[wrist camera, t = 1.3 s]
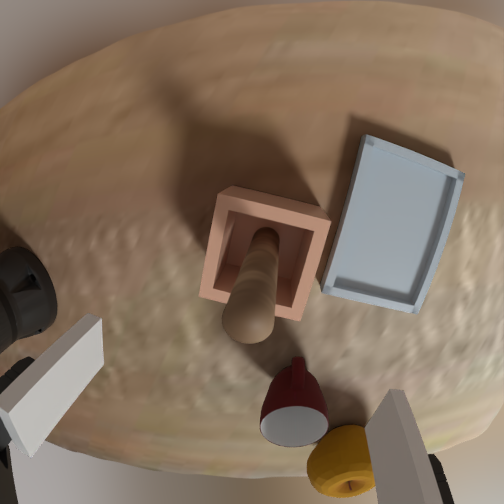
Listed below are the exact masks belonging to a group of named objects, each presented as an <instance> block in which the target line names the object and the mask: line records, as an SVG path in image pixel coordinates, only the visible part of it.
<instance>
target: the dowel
mask: <svg viewBox="0 0 504 504" xmlns="http://www.w3.org/2000/svg"><path fill="white" fill-rule="evenodd" d="M279 244H280V238H279V235H278V233H277V232H276V231H275V230H274V229H272V228H270V227H262V228H260V229H258V230H257V231H256V232H255V233H254V235H253V238H252V240H251V243H250V246H249V248H248V251H247V253H246V256H245V258H244V261H243V263H242V266H241V268H240V271H239V274H238V276H237V279H236V281H235V284H234V286H233V289H232V291H231V294H230V297H229V299H228V302H227V304H226V307H225V309H224V312H223V315H222V324H223V327H224V329H225V331H226V333H227V334H228V335H229V336H230V337H231V338H233V339H234V340H236V341H239V342H242V343H247V344H253V343H258V342H261V341H263V340H264V339H266V338H267V337H268V336H269V335H270V334H271V332H272V330H273V327H274V318H275V305H276V291H277V276H278V261H279Z"/></svg>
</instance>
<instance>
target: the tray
mask: <svg viewBox="0 0 504 504" xmlns="http://www.w3.org/2000/svg"><path fill="white" fill-rule="evenodd" d="M464 177H465V173H463V172H461V171H458V170H456V169H454V168H452V167H450V166H447V165H445V164H443V163H441V162H438V161H436V160H434V159H431V158H429V157H426V156H424V155H422V154H419V153H417V152H414V151H411V150H409V149H406V148H404V147H401V146H398V145H396V144H393V143H390V142H387V141H385V140H382V139H379V138H376V137H373V136H370V135H367V134H366V135H363V136H361V141H360V145H359V149H358V153H357V157H356V162H355V166H354V170H353V173H352V177H351V181H350V185H349V189H348V193H347V196H346V200H345V204H344V207H343V211H342V214H341V218H340V221H339V225H338V228H337V232H336V235H335V239H334V242H333V245H332V249H331V252H330V255H329V258H328V261H327V265H326V268H325V271H324V274H323V277H322V280H321V283H320V288H321V292H322V293H324V294H328V295H333V296H337V297H341V298H346V299H350V300H354V301H359V302H363V303H368V304H372V305H377V306H381V307H386V308H390V309H395V310H400V311H404V312H409V313H414V314H418V312H419V310H420V308H421V306H422V303H423V301H424V299H425V296H426V294H427V291H428V289H429V287H430V284H431V282H432V279H433V276H434V274H435V271H436V269H437V266H438V263H439V261H440V258H441V255H442V252H443V249H444V246H445V243H446V240H447V237H448V234H449V231H450V228H451V225H452V222H453V218H454V215H455V211H456V208H457V204H458V201H459V197H460V193H461V189H462V185H463V181H464Z"/></svg>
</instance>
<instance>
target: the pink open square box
mask: <svg viewBox="0 0 504 504" xmlns="http://www.w3.org/2000/svg"><path fill="white" fill-rule="evenodd" d="M330 224H331V220H330V219H329V217H328V216H327V215H326V213H325V212H324V211H323V209H322V208H321V207H319V206H315V205H312V204H308V203H304V202H300V201H296V200H292V199H288V198H284V197H280V196H276V195H272V194H268V193H264V192H260V191H255V190H251V189H247V188H242V187H238V186H231V187H229V188H227V189H225V190H223V191H222V192H220V193H218V196H217V201H216V206H215V211H214V216H213V221H212V226H211V231H210V236H209V242H208V247H207V252H206V258H205V263H204V269H203V275H202V280H201V286H200V292H199V297H203V298H207V299H210V300H214V301H218V302H222V303H226V304H227V302H228V299H229V297H230V294H231V291H232V289H233V286H234V284H235V281H236V279H237V276H238V274H239V271H240V268H241V266H242V263H243V261H244V258H245V256H246V253H247V251H248V248H249V246H250V243H251V240H252V238H253V235H254V233H255V232H256V231H257V230H258V229H260V228H262V227H270V228H272V229H274V230H275V231H276V232H277V233H278V235H279V238H280V244H279V261H278V276H277V291H276V305H275V316H279V317H283V318H288V319H292V320H296V321H300V320H301V317H302V314H303V311H304V308H305V305H306V302H307V299H308V296H309V293H310V290H311V287H312V284H313V281H314V278H315V274H316V271H317V268H318V265H319V262H320V258H321V255H322V252H323V248H324V245H325V242H326V238H327V235H328V231H329V228H330Z"/></svg>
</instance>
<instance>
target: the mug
mask: <svg viewBox="0 0 504 504" xmlns="http://www.w3.org/2000/svg"><path fill="white" fill-rule="evenodd" d="M328 427H329V419H328V410H327V405H326V402H325V400H324V397H323V394H322V392H321V389H320V387H319V384H318V382H317V380H316V379H315V377H314V376H313V375H312V374H311V373H310V372H308V371H307V370H306V369H305V361H304V358H303V357H299V356H297V357H293V358H292V366H289V367H286V368H285V369H283V370H282V371H281V372H280V373H279V374H278V375H277V376H276V377H275V378H274V379H273V381H272V382H271V384H270V387H269V390H268V392H267V395H266V398H265V400H264V403H263V406H262V410H261V417H260V431H261V433H262V435H263V436H264V437H265V438H266V439H267V440H268V441H270V442H271V443H274V444H276V445H279V446H284V447H301V446H306V445H309V444H312V443H314V442H316V441H318V440H319V439H321V438H322V437H323V436H324V435H325V434H326V432H327V430H328Z"/></svg>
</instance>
